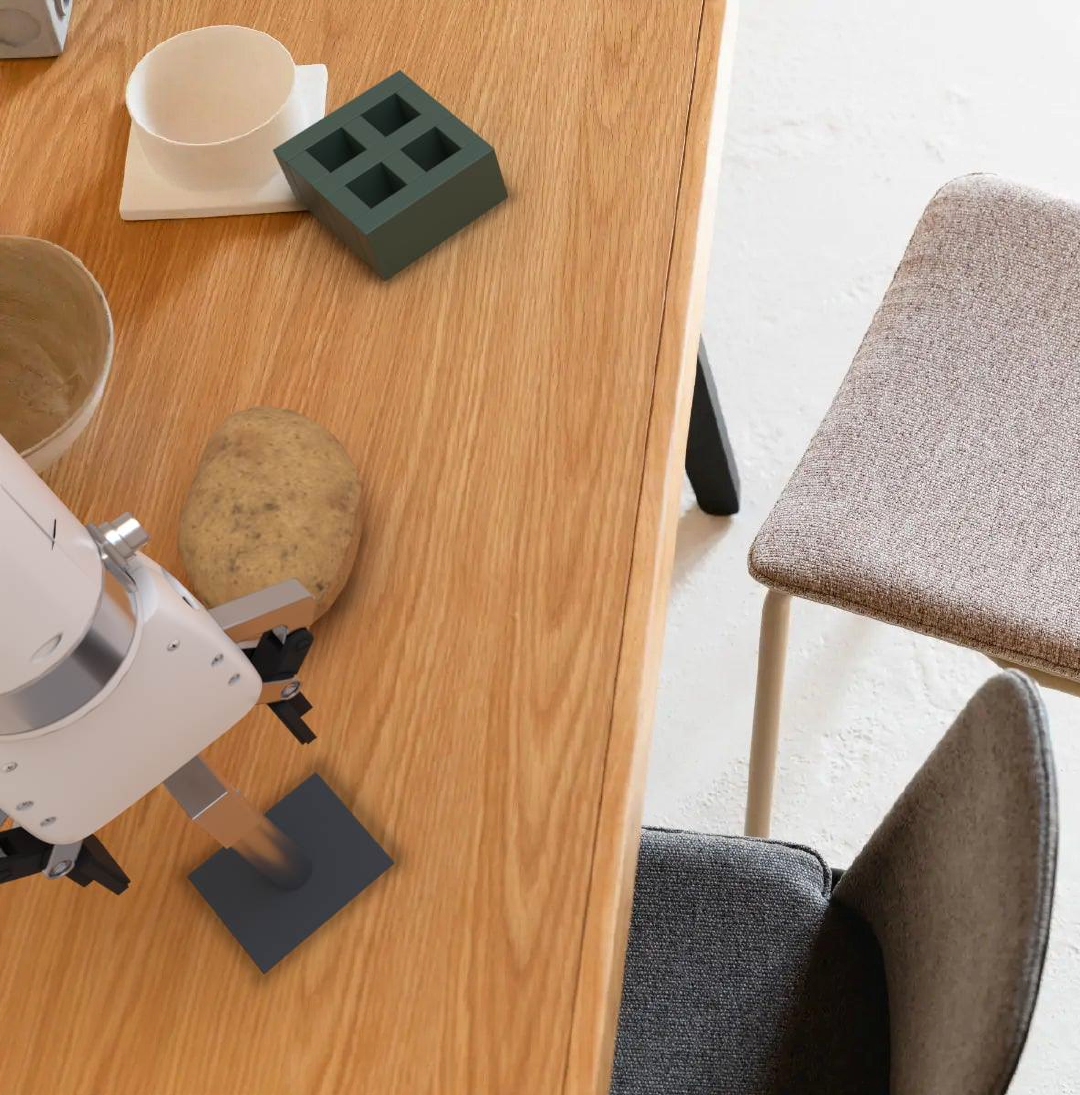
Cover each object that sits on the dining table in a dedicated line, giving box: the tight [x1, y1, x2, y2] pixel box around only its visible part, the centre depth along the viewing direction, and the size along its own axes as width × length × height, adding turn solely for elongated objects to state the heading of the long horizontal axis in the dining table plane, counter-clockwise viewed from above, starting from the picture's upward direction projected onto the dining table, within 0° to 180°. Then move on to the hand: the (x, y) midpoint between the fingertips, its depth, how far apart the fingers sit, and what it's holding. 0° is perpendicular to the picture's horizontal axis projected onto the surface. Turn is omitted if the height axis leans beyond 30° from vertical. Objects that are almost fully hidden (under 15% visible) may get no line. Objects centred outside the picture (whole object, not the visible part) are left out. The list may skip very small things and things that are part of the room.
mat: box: [187, 771, 395, 975], centre depth 75 cm, size 7×8×1 cm
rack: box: [272, 69, 509, 282], centre depth 95 cm, size 10×10×5 cm
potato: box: [176, 404, 366, 640], centre depth 81 cm, size 10×14×8 cm
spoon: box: [161, 751, 312, 890], centre depth 69 cm, size 4×2×14 cm, turn 45°
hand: (202, 792), depth 65 cm, fingers open, 9 cm apart
